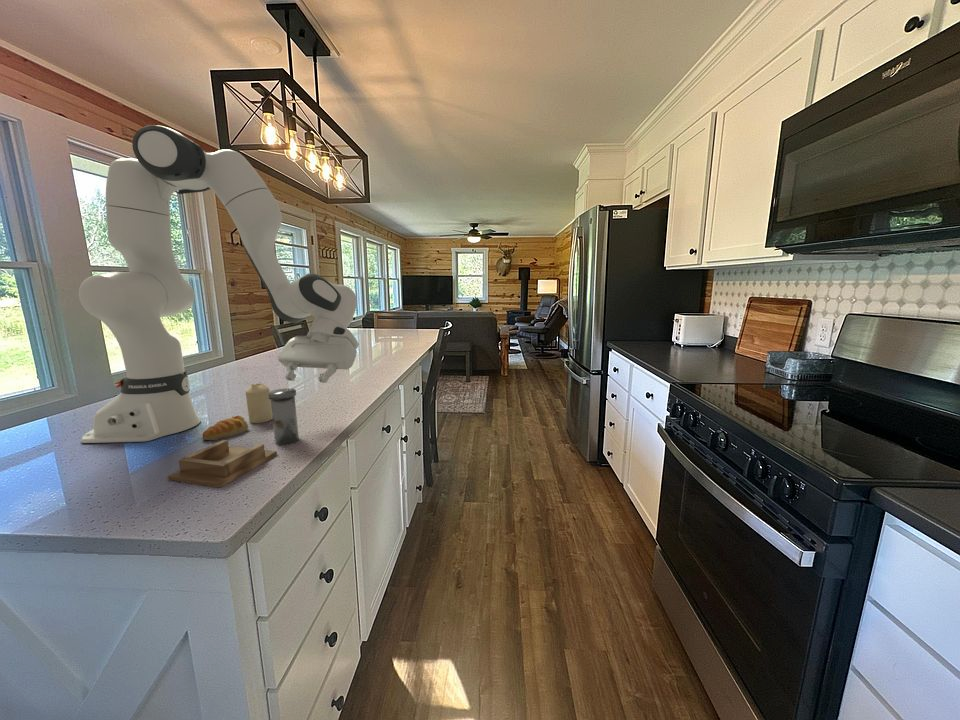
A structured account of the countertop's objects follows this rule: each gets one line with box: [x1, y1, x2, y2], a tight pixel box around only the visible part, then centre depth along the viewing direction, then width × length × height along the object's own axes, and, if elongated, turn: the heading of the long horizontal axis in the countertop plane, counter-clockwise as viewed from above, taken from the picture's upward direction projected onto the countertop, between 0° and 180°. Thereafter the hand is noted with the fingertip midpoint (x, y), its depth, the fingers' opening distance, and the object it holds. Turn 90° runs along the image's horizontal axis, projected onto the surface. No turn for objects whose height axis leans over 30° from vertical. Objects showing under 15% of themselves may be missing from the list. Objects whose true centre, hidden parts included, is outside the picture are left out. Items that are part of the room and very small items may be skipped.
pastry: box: [201, 415, 250, 441], centre depth 93 cm, size 9×7×4 cm
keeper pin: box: [268, 387, 300, 446], centre depth 88 cm, size 6×6×12 cm
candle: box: [245, 383, 273, 424], centre depth 102 cm, size 6×6×10 cm
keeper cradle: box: [167, 439, 278, 489], centre depth 77 cm, size 14×12×3 cm
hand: (305, 380), depth 95 cm, fingers open, 8 cm apart
